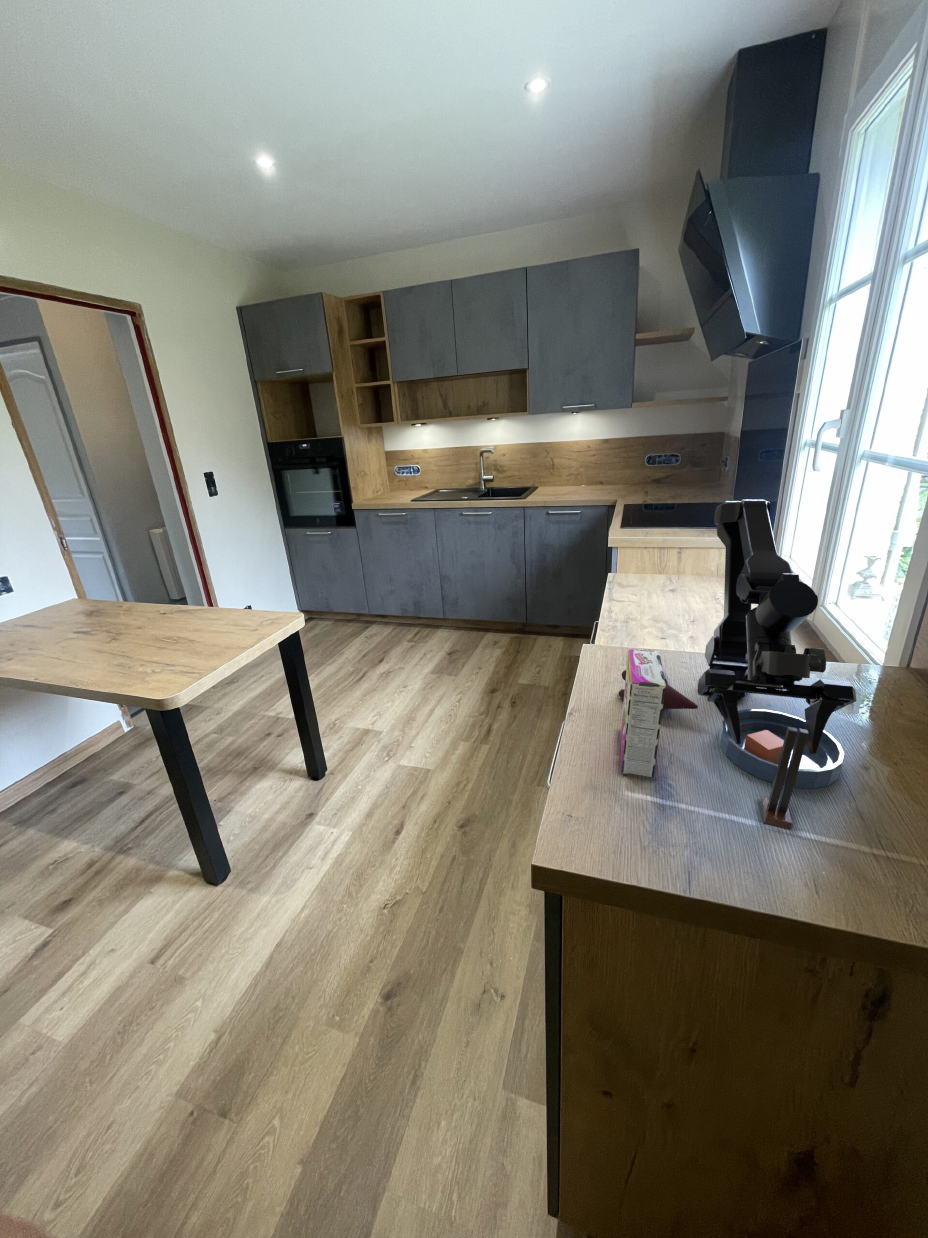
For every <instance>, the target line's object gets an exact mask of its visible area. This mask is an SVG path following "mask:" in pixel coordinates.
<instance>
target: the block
mask: <svg viewBox="0 0 928 1238" xmlns="http://www.w3.org/2000/svg"><path fill="white" fill-rule="evenodd" d="M783 743H784V740H782V739H781V738H779V737H777V736H776V735H774V734H773V733H771V732H770V731H768V730H764V731H760V732H756V733H752V734H748V735H747V737H746V741H745V746H744V750H746V751H748V752H749V753H751V754H753V755H755V756H757V757H759V758H761V759H764V760H766V761H769V762H772V763H775V764H777V765H778V762H779V759H780V755H781V751H782V747H783Z"/></svg>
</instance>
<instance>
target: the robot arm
mask: <svg viewBox="0 0 928 1238" xmlns="http://www.w3.org/2000/svg"><path fill="white" fill-rule="evenodd" d="M770 514H771V502H770V501H767V500H766V499H742V500H724V501H723V503H721V504H719V505H718V506H716V508H715V511H714V518H713V524H714V525H716V536H717V537H718V539H719V540H720V542H721V543H722V544H723V545H724V547H725V556H724V558H725V561H724V588H723V589H724V592H723V594H724V595H723V618H722V619H721V620H720V622H719V623H718V625H717V626H716V627H715V629H714V630H713V635H712V636H711V637H710V639H709V641H708V642H707V643H706V645H705V649H704V650H705V651H704V658H705V661H706V664H707V666H708V667H709V668H708V669H706V670H705V671H704V672H703V673H702V674H701V676H700V677H699V679H698V681H697V695H699V696H702V697H706V700H707V702H710V703H713V704H714V706H715V707H716V708H717V711H718V712H719V713H720V715H721V717H722V718H723V720H725V722H726V725H727V727H728V729H729V731H730V733H731V735H732V738H733V740H734V742H735V744H737V745H739V744H740V742H741V731H740V723H739V715H738V711H739V708H738V702H739V701H740V700H741V699H742V698H745V696H746V695H747V694H757V695H766V696H776V697H784V698H785V697H786V698H794V699H795V698H796V699H804V700H805V703H807V704H808V705H809V706H808V707H805V708H804V720H805V721H806V730H807V731H808V733H809V734H808V738H807V745H808V749H809V753H810V754H815V753H816V752H817V749H818V746H819V743H820V740H821V737H822V734H823V731H825V727H826V725H827V723H828V722H829V719H830V717H831V715H832V714H833V713H835V712H837V711H839V710H841V709H844V708H845V707H847V706H850V705H851V704H853V703H856V702H857V701H858V700H857V691H856V689H855V687H854V685H852V684H851V683H850V682H849V681H844V680H834V679H823V678H820V679H818V680H817V681H815V682H813V683H812V684H810V685H807V684H797V683H795V682H800V681H802V680H803V679H810V677H811V672H812V673H813V672H815V673H825V671H826V670H827V656H826V650H825V648H817V647H805V648H804V650H803V653H797V648H796V645H795V644H793V643H792V631H793V630H795V629H797V628H798V627H799V626H800V625H801V624H802V623H803V622H804V621H805V620H806V619H807V618H809V616H810V615H811V614H813V613H814V612H815V610H816V609H817V607H818V604H819V597H818V595H817V594H816V592H815V590H813V588H812V587H811V586H810V585H808V584H807V583H805V582H803V581H801V580H800V575H799V573H794V572H793V570H792V567H791V564H790V562H788V561H787V560H786V559H784V558H783V557H781V556H780V555H779V554H778V550H777V546H776V541H775V538H774V537H775V536H774V533H773V528H772V523H771V518H770ZM752 605H757V606H755V607H754V608H752Z"/></svg>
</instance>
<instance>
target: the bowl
mask: <svg viewBox="0 0 928 1238" xmlns="http://www.w3.org/2000/svg"><path fill="white" fill-rule="evenodd" d="M738 715H739V723H740V731H741V742H740V744H739V745H737V744H735V742H734V740H733V738H732V735H731V733H730V731H729V729H728V727H727V725H726V722H725V720H724V719H723V720H722V721H721V725H720V730H719V734H718V742H719V748H720V749H721V751H722V753H723V754H724V756H725V757H726V758H727V759H728V760H730V761H731V762H732V763H733V764H734V765H736V767H738V768H740V769H741V770H743V771H744V772H746V773H748V774H750V775H751V776H754V777H756V778H759V779H761V780H764V781H766V782H769V783H771V784H773V782H774V778H775V774H776V770H777V766H778V765H777V764H775V763H772V762H769V761H766V760H764V759H761V758H759V757H757V756H755V755H753V754H751V753H749V752H748V751H746V750H744V746H745V741H746V737H747V735H748V734H752V733H756V732H760V731H764V730H768V731H770V732H771V733H773V734H774V735H776V736H777V737H779V738H781V739H782V740H784V739H785V736H786V732H787V728H788V727H793V728H796V730H797V734H798V730H799V729H805V730H806V721H805V719H803V718H801V717H799V716H795V715H793V714H790V713H789V714H788V713H786V712H781V711H778V710H777V711H776V710H771V709H760V708H759V709H758V708H747V709H740V710H739V709H738ZM797 734H796V738H797ZM796 738H795V741H796ZM794 745H795V742H794ZM793 749H794V746H793ZM793 749H792V753H793ZM792 753H791V756H792ZM845 754H846V753H845V752H844V749H843V746H842V745H841V743H840V742H839V741H838V740H837V739H836V738H835V737H834V736H833V735H832V734H831V733H829V732H828V731H826V730H824V731H823V734H822V737H821V740H820V743H819V746H818V749H817V752H816V753H815V754H810V753H809V749H808V745H807V741H806V745H805V749H804V752H803V756H802V759H801V763H800V766H799V770H798V773H797V777H796V781H795V784H794V788H793V789H808V790H809V789H811V790H812V789H819V788H823V787H828V786H829V785H831V784H833V783H834V782H836V781H837V780H838V778H839V775H840V772H841V769H842V766H843V763H844V759H845V756H846V755H845ZM790 760H791V757H790ZM790 760H789V764H790ZM789 764H788V767H789ZM787 771H788V768H787ZM787 771H786V775H787ZM786 775H785V778H786ZM784 782H785V779H784ZM783 786H784V783H783ZM783 786H782V787H783Z"/></svg>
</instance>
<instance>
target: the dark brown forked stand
mask: <svg viewBox="0 0 928 1238" xmlns="http://www.w3.org/2000/svg"><path fill="white" fill-rule="evenodd" d="M796 734H797V730H796V728H793V727H788V728H787V732H786V736H785V739H784V743H783V747H782V751H781V755H780V759H779V762H778V766H777V770H776V774H775V778H774V782H773V783H772V786H771V790H770V794H769V797H763V796H761V798H760V804H761V811H762V814H763V819H764V822H763V824H764V825H765V826H766V825H767V826H771V827H774V828H775V827H776V828H780V829H783V830H788V831H791V828H792V826H793V821H792V817H791V813H790V809H789V806H790V802H791V798H792V795H793V792H794V791H793V790H794V789H795V788H794V784H795V781H796V777H797V773H798V770H799V766H800V763H801V759H802V756H803V752H804V749H805V745H806V741H807V738H808V734H809V733H808V731H807V730H805V729H799V730H798V734H797V738H796ZM795 738H796V741H795ZM794 742H795V745H794ZM793 746H794V749H793ZM792 749H793V753H792ZM791 753H792V756H791ZM790 757H791V760H790ZM789 760H790V764H789ZM788 764H789V767H788ZM787 768H788V771H787ZM786 771H787V775H786ZM785 775H786V778H785ZM784 779H785V782H784ZM783 783H784V786H783Z"/></svg>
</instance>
